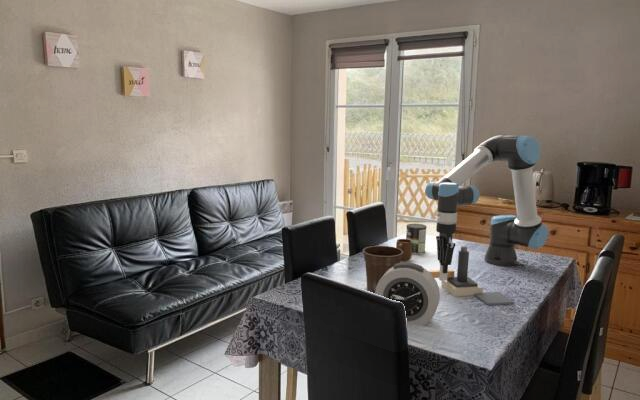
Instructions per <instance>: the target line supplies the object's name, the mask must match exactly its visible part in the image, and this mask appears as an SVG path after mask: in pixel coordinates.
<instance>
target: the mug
mask: <svg viewBox="0 0 640 400" xmlns="http://www.w3.org/2000/svg"><path fill="white" fill-rule="evenodd" d="M395 245H396V246H395V248H399V249H401V250H402V251H403V254H402V257H401V262H402V261H403V262H408V261H410V260H411V259H412V254H411V252H412V241H411V240H408V239H406V238H399V239H398V238H397V240H396V243H395Z"/></svg>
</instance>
